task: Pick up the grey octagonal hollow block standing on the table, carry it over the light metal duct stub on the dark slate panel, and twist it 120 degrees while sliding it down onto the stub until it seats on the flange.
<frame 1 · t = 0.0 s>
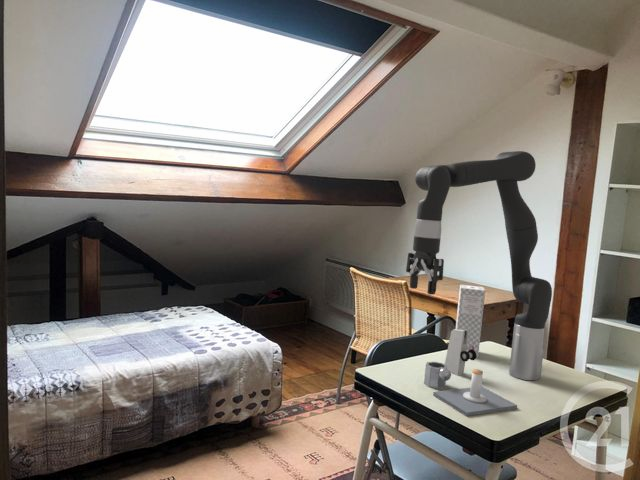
hand: (422, 291, 144), 29 cm above the table, fingers open, 8 cm apart
grey octagonal hollow block: (434, 384, 151), on the table
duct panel: (474, 401, 140), on the table
bracket: (457, 374, 163), on the table
box: (465, 353, 187), on the table
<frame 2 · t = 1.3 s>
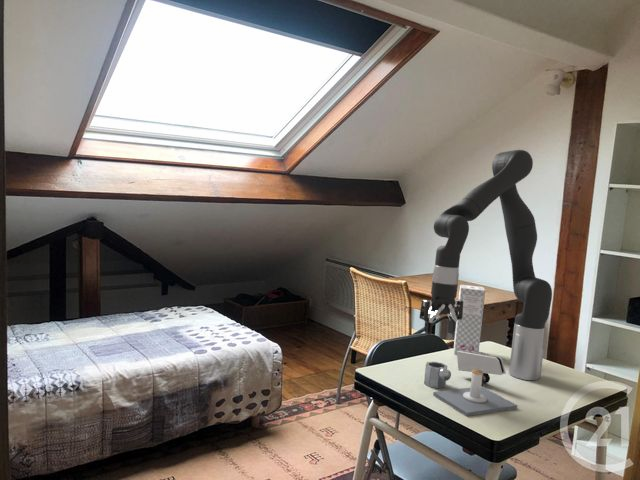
hand: (439, 333, 150), 16 cm above the table, fingers open, 8 cm apart
bracket: (460, 365, 160), point 3 cm above the table
everything else where it was.
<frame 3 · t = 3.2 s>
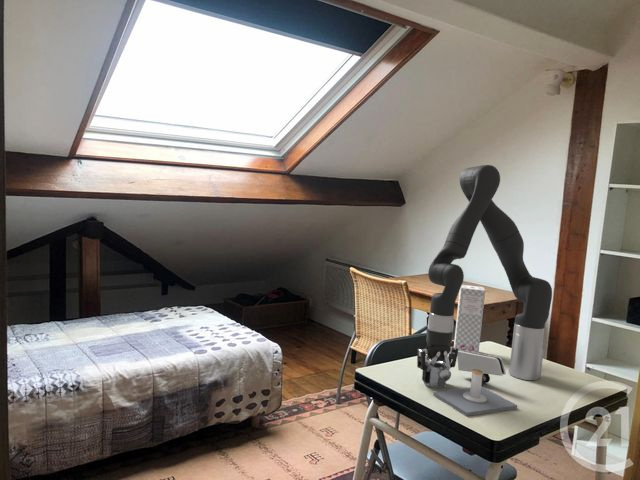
hand: (434, 381, 151), 1 cm above the table, fingers closed on grey octagonal hollow block, 6 cm apart
grey octagonal hollow block: (434, 384, 151), on the table, touching gripper
everything else where it was.
when the fingers open (3 cm above the table, at t = 8.7 s): grey octagonal hollow block stays where it is, resting on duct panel.
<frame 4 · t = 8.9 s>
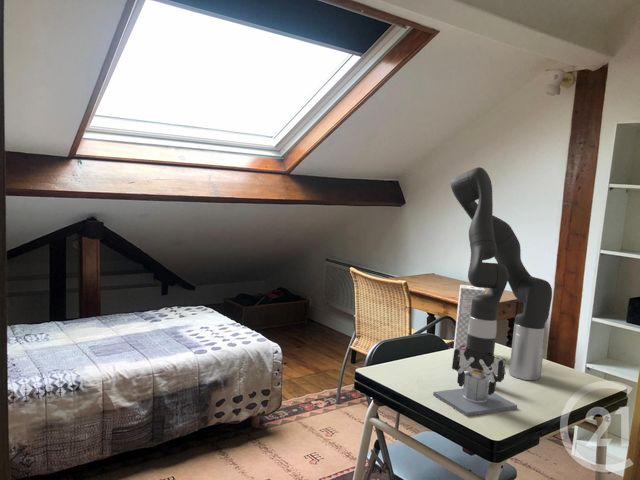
hand: (475, 389, 139), 4 cm above the table, fingers open, 8 cm apart
grey octagonal hollow block: (474, 396, 140), point 2 cm above the table, touching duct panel
everything else where it was.
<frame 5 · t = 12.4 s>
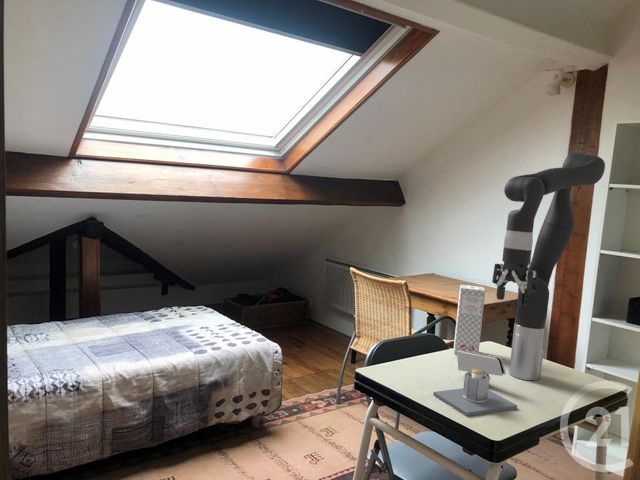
hand: (511, 302, 143), 28 cm above the table, fingers open, 8 cm apart
nothing on the table moved.
at the end: grey octagonal hollow block 0.0 cm off-centre on the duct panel, point 1.6 cm above the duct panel's base; grey octagonal hollow block tilted 0°; the gripper is holding nothing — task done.
